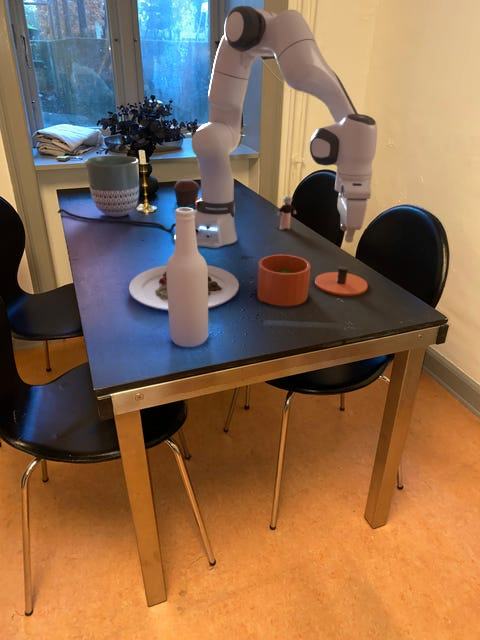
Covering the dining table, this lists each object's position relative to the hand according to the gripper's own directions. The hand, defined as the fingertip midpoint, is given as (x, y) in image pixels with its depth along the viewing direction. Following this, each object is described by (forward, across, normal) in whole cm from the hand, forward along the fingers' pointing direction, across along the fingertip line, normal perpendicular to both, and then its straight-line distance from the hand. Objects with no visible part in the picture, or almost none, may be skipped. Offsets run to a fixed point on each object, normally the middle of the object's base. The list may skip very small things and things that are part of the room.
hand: (346, 235), depth 126 cm
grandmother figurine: (+15, -51, -14) cm, 55 cm away
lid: (+15, 0, 0) cm, 15 cm away
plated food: (+15, +7, -44) cm, 47 cm away
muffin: (+15, -82, -57) cm, 101 cm away
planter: (+15, -60, -82) cm, 103 cm away
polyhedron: (+13, +6, -16) cm, 22 cm away
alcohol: (+15, +32, -39) cm, 52 cm away
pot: (+15, +8, -17) cm, 24 cm away
